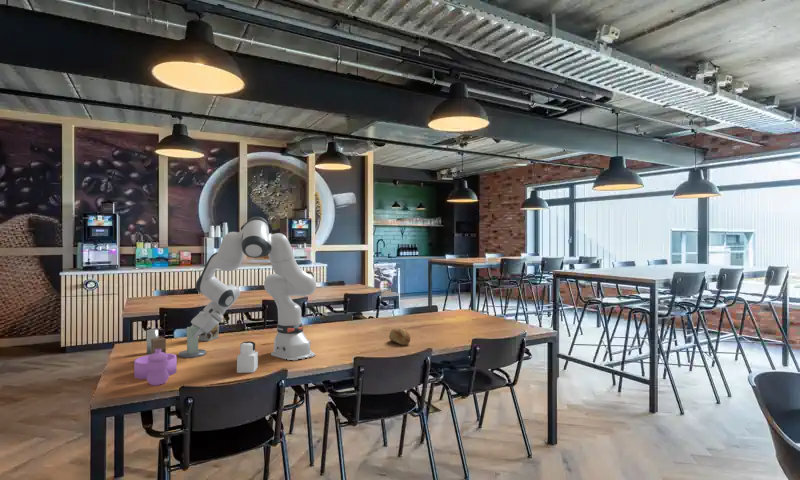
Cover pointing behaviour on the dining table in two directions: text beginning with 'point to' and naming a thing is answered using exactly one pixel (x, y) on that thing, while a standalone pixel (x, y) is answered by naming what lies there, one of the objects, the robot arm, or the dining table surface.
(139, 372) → the container set
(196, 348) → the sage block
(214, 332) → the coffee box
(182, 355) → the disc
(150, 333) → the pewter tin
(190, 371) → the dining table surface
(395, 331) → the bread roll
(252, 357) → the medicine bottle
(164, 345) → the walnut block
